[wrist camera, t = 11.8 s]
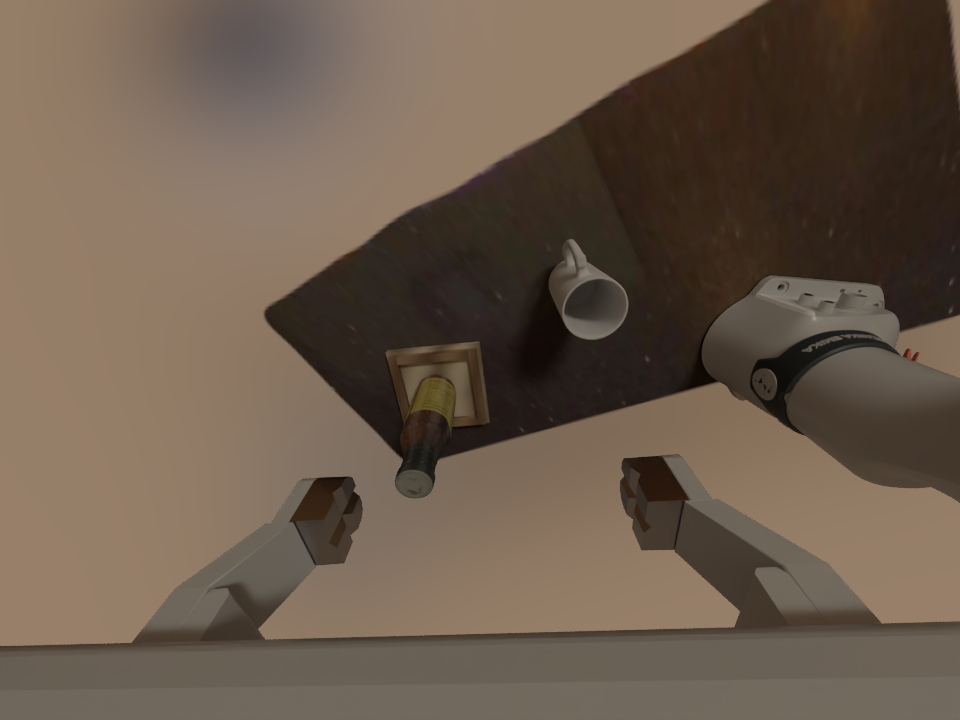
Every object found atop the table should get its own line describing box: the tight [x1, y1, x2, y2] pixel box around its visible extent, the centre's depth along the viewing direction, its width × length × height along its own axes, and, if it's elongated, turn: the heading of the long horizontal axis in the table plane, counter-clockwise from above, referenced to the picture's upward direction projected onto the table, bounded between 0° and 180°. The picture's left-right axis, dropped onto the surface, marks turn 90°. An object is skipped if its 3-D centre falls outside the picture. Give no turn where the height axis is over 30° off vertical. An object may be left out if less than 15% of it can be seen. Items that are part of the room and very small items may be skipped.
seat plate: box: [386, 342, 490, 427], centre depth 54 cm, size 14×14×2 cm
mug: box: [549, 239, 628, 340], centre depth 41 cm, size 10×7×12 cm, turn 20°
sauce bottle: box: [395, 374, 456, 498], centre depth 45 cm, size 7×6×20 cm
